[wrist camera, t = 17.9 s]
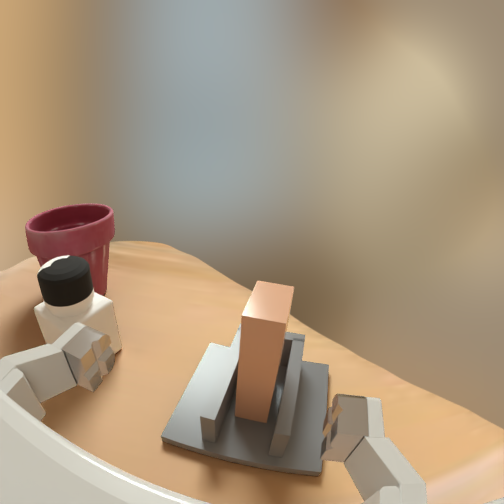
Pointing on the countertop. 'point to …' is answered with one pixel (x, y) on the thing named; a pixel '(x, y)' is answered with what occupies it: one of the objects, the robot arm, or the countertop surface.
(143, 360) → the countertop surface
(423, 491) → the robot arm
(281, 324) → the tall tan pillar block
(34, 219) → the plant pot
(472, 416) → the countertop surface
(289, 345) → the rack
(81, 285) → the medicine bottle
